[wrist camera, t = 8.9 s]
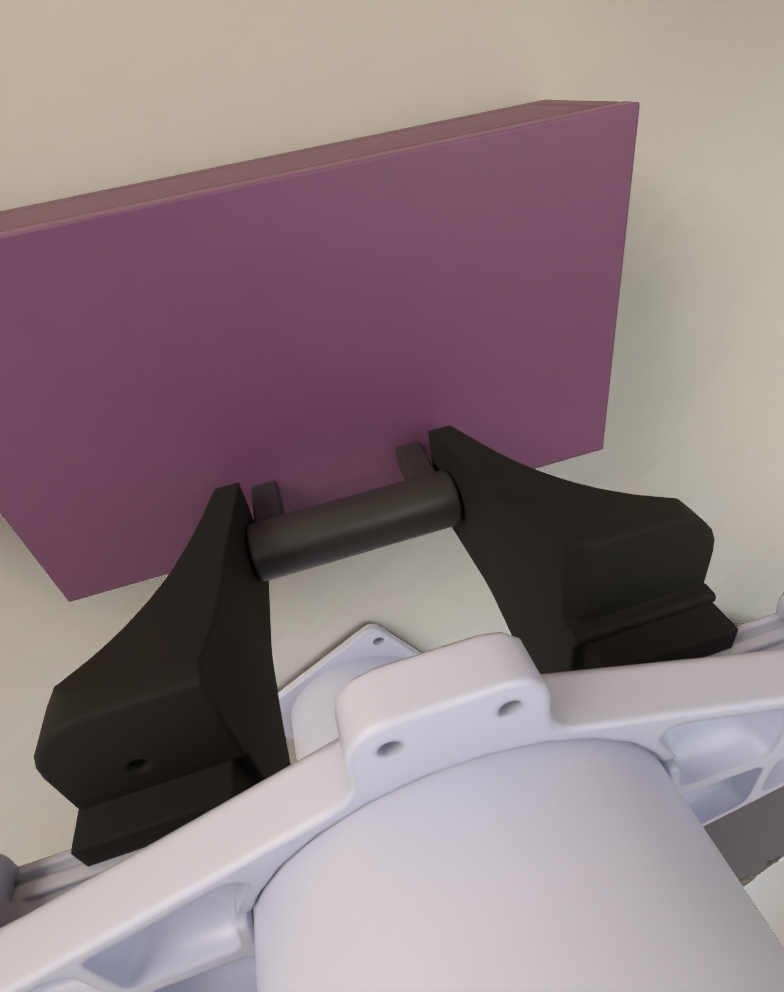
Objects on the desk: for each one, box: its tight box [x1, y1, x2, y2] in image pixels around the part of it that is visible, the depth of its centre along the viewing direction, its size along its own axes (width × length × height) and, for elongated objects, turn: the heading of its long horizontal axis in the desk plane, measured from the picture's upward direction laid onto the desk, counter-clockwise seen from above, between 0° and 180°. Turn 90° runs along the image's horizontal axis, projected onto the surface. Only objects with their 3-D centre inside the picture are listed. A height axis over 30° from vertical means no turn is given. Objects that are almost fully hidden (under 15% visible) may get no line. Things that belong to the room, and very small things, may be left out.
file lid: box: [0, 101, 640, 601], centre depth 13 cm, size 9×16×4 cm, turn 99°
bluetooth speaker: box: [703, 786, 784, 886], centre depth 34 cm, size 23×9×10 cm, turn 153°
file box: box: [0, 100, 619, 232], centre depth 15 cm, size 8×16×4 cm, turn 99°
